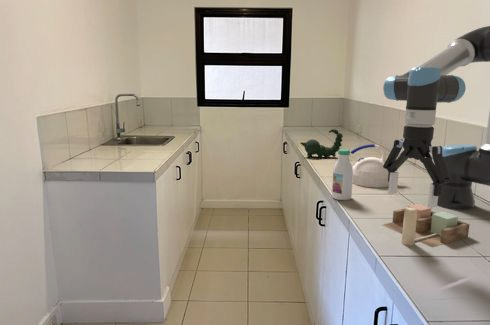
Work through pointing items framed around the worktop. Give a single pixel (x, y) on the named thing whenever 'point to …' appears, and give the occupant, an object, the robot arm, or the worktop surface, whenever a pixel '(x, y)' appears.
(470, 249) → the worktop surface
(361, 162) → the kettle
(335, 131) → the toy figurine
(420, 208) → the terracotta block
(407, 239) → the green headed mallet
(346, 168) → the milk bottle
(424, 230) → the lane shelf
